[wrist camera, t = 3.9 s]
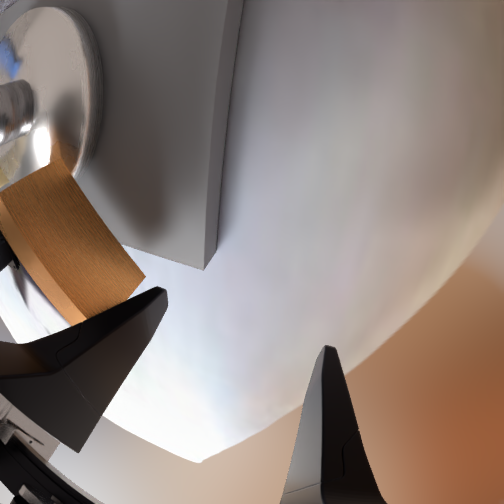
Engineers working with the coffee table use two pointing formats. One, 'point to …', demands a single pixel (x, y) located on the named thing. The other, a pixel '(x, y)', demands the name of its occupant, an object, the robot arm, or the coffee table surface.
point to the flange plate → (54, 89)
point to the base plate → (158, 119)
